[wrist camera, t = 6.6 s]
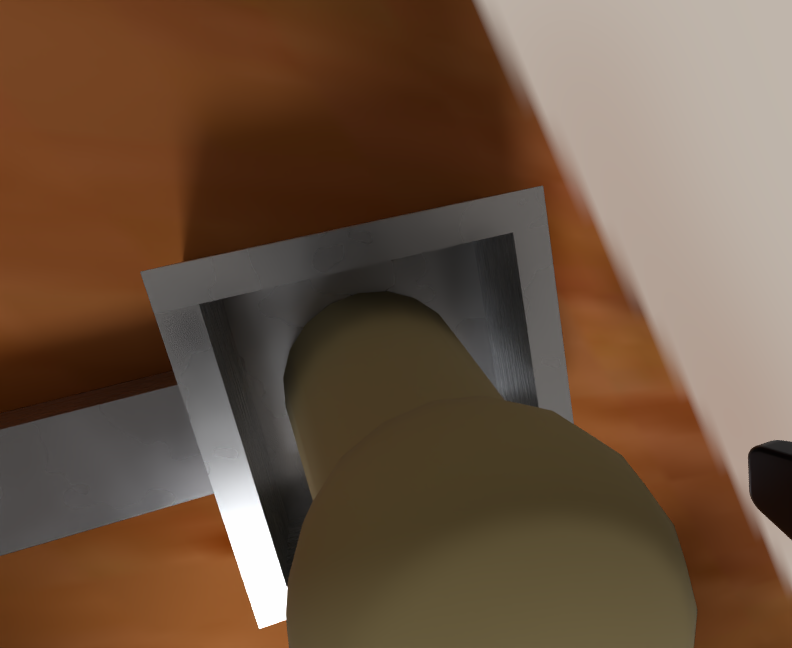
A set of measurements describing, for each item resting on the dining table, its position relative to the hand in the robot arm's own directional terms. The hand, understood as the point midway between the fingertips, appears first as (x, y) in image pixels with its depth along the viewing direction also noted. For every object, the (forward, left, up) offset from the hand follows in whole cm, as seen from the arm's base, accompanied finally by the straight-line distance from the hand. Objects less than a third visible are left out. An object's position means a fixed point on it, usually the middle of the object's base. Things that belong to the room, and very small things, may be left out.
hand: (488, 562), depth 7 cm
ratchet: (0, +5, -11) cm, 12 cm away
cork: (0, 0, -9) cm, 9 cm away
